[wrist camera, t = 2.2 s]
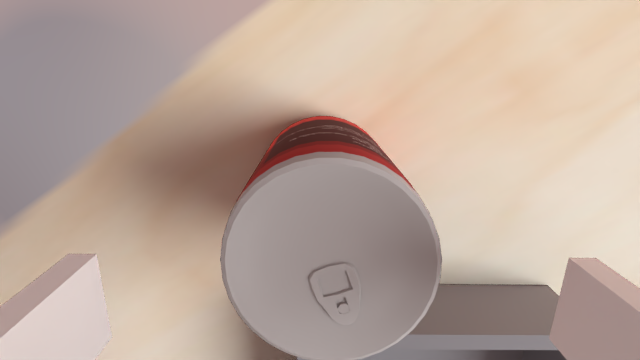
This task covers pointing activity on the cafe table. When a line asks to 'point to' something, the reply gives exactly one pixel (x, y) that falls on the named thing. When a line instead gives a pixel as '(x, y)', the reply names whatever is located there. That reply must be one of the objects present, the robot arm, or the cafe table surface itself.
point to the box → (482, 325)
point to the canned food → (330, 246)
